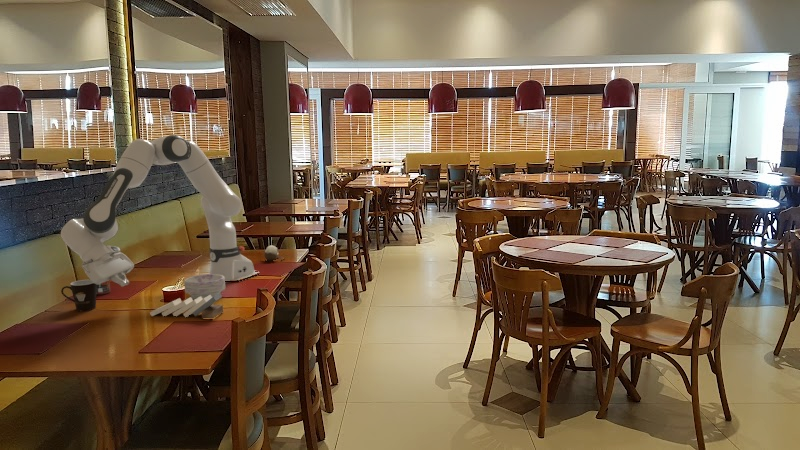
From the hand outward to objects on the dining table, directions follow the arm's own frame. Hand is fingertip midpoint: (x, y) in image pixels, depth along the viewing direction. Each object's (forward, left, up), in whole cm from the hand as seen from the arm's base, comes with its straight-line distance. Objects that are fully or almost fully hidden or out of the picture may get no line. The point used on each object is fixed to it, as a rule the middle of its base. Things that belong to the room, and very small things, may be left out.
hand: (126, 284), depth 214 cm
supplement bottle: (-9, -36, -11) cm, 38 cm away
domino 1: (-5, +9, -10) cm, 14 cm away
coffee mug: (+6, -21, -11) cm, 24 cm away
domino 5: (-12, +23, -9) cm, 28 cm away
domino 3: (-9, +16, -10) cm, 21 cm away
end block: (-15, +28, -11) cm, 34 cm away
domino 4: (-11, +20, -10) cm, 25 cm away
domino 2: (-7, +13, -10) cm, 18 cm away
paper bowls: (-29, +5, -11) cm, 31 cm away
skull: (-90, -25, -11) cm, 94 cm away
